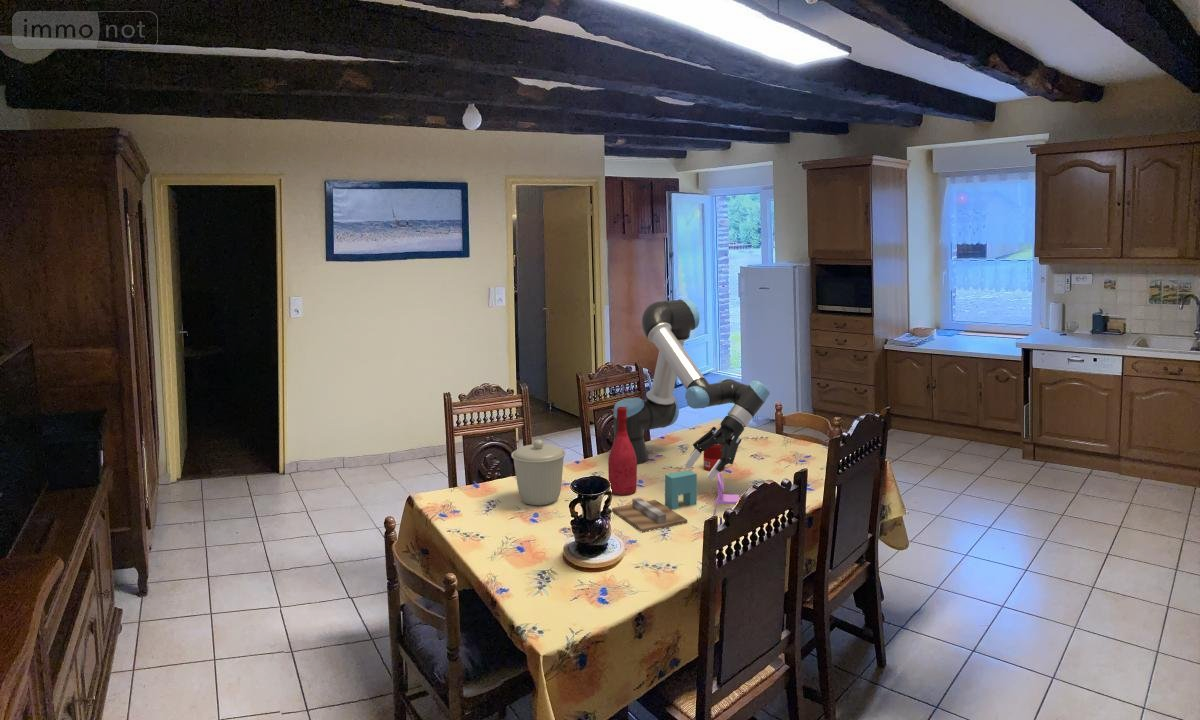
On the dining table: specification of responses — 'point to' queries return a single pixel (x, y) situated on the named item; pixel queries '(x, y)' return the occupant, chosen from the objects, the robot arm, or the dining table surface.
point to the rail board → (645, 519)
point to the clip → (680, 488)
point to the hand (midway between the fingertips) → (698, 472)
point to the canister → (539, 472)
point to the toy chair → (724, 497)
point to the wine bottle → (622, 459)
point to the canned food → (712, 456)
